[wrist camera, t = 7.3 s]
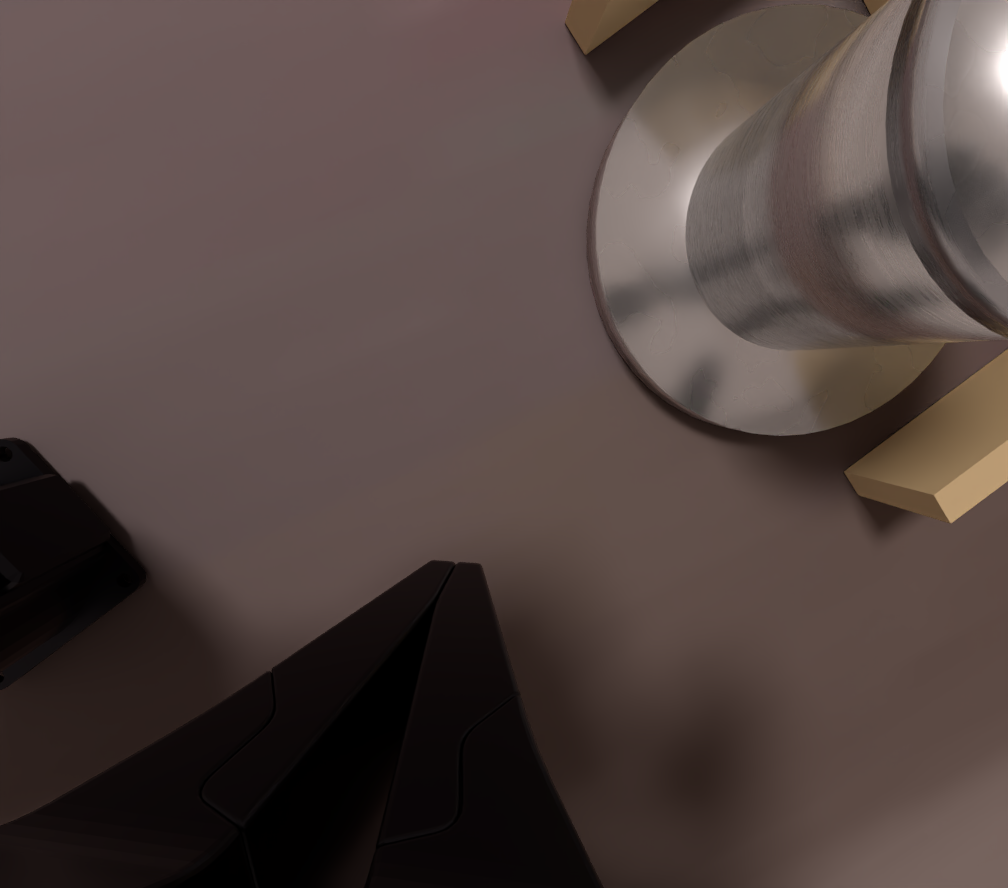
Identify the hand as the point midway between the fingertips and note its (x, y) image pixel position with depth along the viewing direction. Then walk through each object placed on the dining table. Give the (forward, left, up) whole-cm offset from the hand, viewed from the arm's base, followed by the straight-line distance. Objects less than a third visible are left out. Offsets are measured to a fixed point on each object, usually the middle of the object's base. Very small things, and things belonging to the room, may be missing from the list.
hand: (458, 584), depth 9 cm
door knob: (+14, 0, -11) cm, 18 cm away
